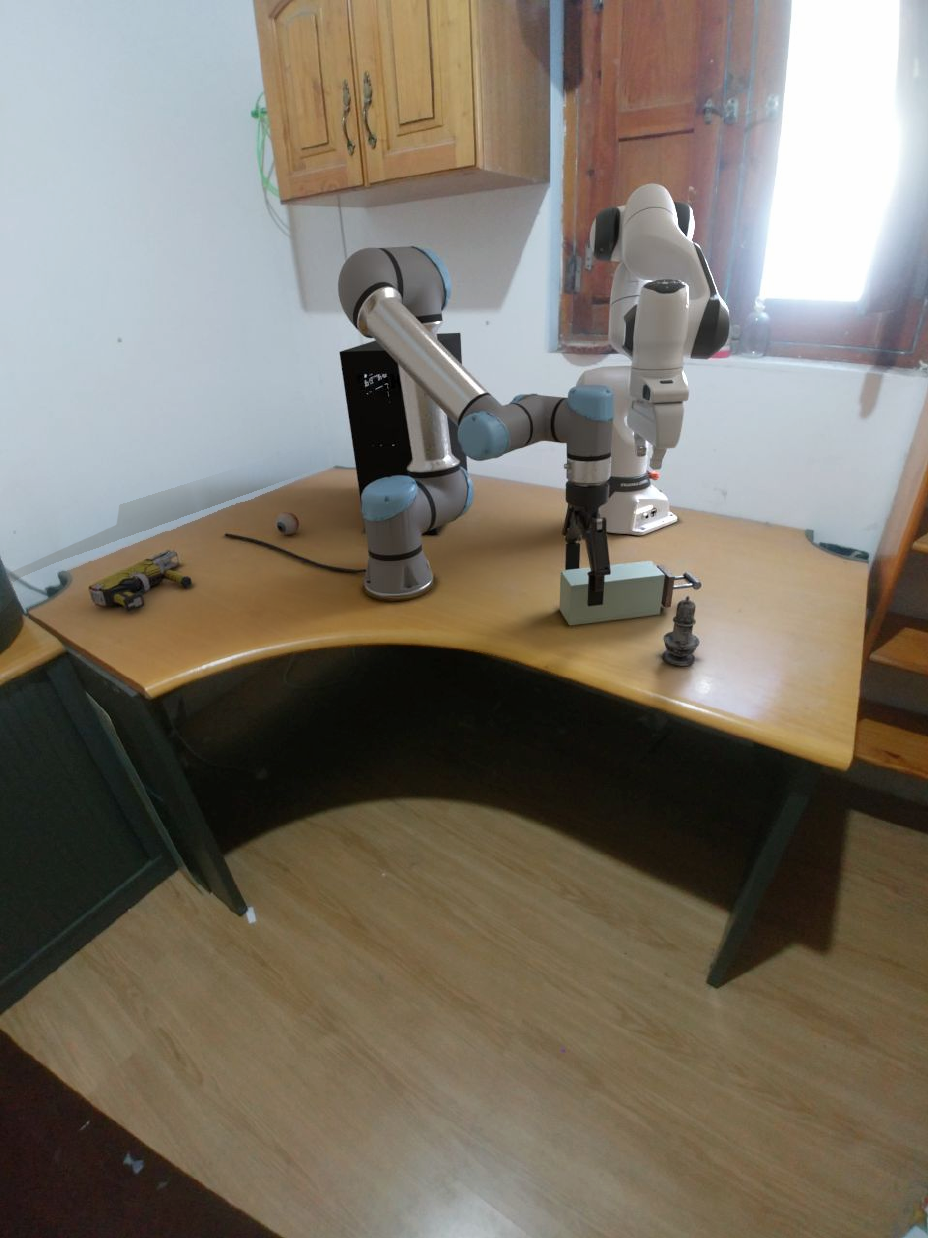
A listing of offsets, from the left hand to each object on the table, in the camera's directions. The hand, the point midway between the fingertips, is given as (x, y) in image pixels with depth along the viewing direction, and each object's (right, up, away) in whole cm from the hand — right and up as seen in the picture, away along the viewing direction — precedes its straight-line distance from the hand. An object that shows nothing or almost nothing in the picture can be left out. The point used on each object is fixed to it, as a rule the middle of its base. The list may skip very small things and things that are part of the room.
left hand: (583, 588), depth 116 cm
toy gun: (-94, +1, +23) cm, 97 cm away
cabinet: (+6, -4, +4) cm, 8 cm away
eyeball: (-71, +17, +49) cm, 88 cm away
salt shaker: (+14, -13, -11) cm, 22 cm away
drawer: (+12, -3, +4) cm, 13 cm away
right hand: (+12, +24, -2) cm, 27 cm away
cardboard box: (-36, +26, +61) cm, 76 cm away
